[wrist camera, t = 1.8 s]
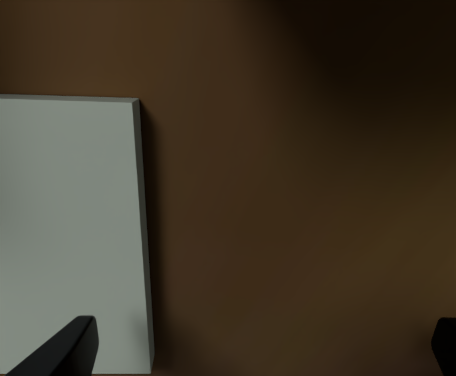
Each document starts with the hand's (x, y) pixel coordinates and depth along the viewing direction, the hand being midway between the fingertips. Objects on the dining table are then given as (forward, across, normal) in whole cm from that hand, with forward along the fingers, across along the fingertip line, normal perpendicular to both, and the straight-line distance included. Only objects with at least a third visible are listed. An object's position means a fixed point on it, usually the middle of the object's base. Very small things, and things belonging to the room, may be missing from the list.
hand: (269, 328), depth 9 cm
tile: (+2, +8, -1) cm, 8 cm away
